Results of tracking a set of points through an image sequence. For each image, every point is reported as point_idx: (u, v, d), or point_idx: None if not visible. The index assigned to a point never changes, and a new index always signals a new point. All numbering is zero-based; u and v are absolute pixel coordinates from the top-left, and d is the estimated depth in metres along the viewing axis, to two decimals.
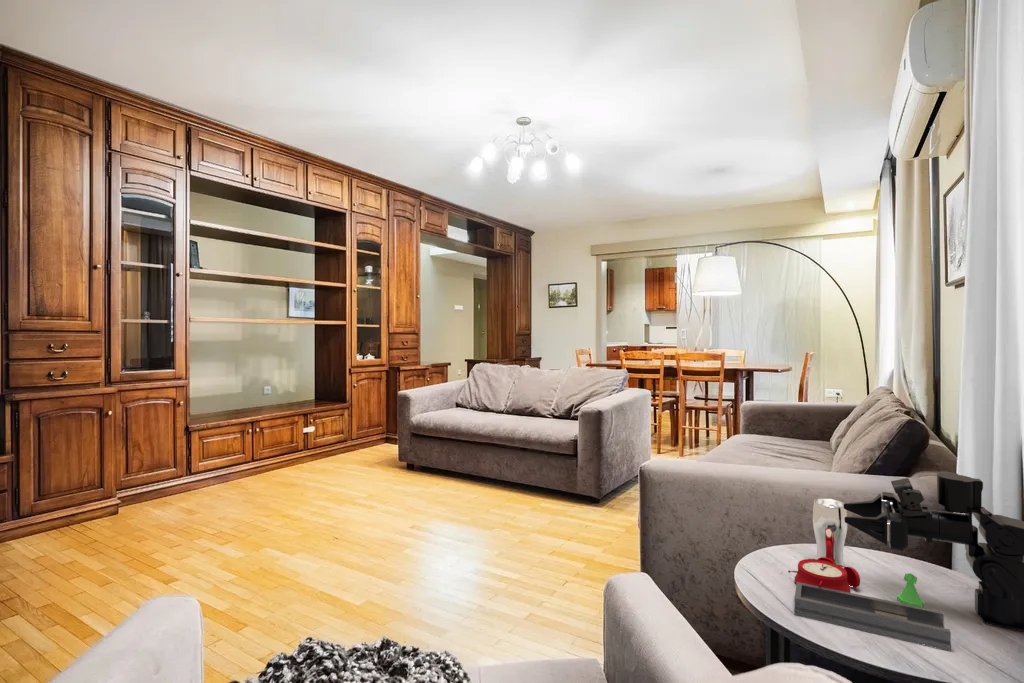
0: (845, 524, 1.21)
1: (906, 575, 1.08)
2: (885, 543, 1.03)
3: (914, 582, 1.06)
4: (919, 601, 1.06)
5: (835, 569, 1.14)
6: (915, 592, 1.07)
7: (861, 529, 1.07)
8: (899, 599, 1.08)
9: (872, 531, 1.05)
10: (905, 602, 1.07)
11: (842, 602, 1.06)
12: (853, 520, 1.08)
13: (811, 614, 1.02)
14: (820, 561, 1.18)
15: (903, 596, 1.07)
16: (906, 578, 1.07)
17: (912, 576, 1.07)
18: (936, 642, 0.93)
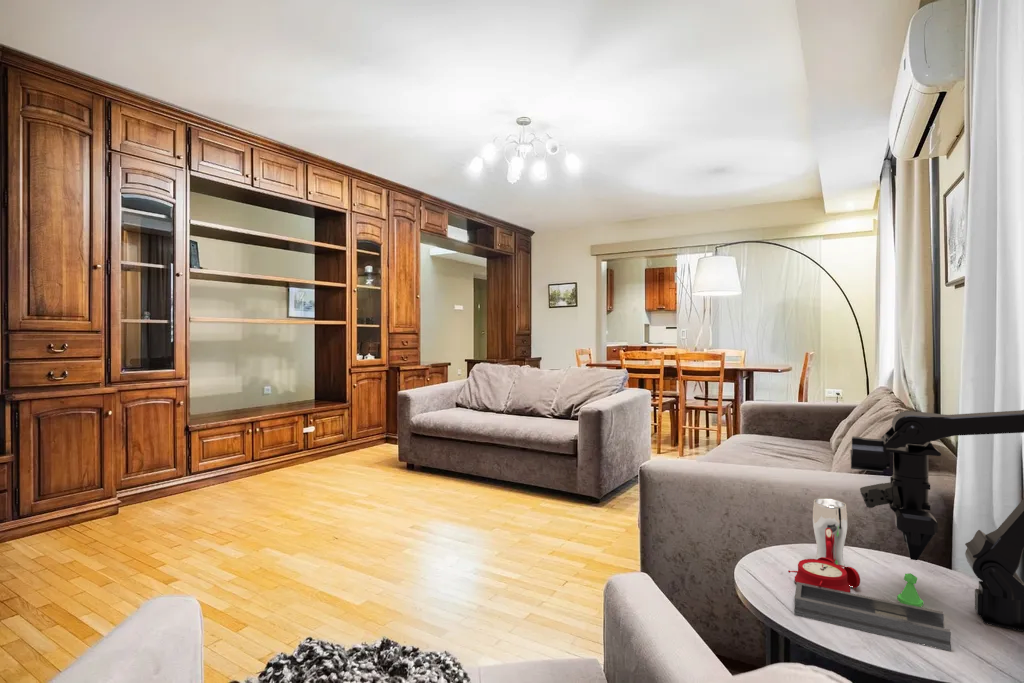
0: (845, 524, 1.21)
1: (906, 575, 1.08)
2: (932, 534, 0.99)
3: (914, 582, 1.06)
4: (919, 601, 1.06)
5: (835, 569, 1.14)
6: (915, 592, 1.07)
7: (922, 548, 1.02)
8: (899, 599, 1.08)
9: (922, 539, 1.01)
10: (905, 602, 1.07)
11: (842, 602, 1.06)
12: (913, 553, 1.03)
13: (811, 614, 1.02)
14: (820, 561, 1.18)
15: (903, 596, 1.07)
16: (906, 578, 1.07)
17: (912, 576, 1.07)
18: (936, 642, 0.93)
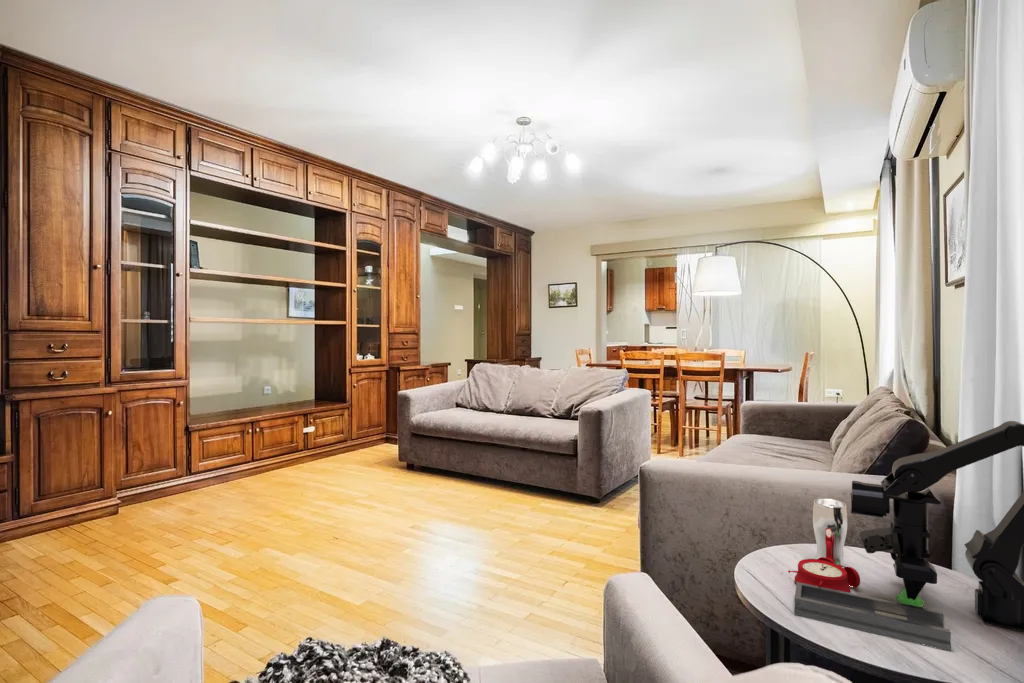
0: (845, 524, 1.21)
1: None
2: None
3: None
4: (919, 601, 1.06)
5: (835, 569, 1.14)
6: None
7: (919, 589, 1.05)
8: (899, 599, 1.08)
9: (919, 581, 1.05)
10: (905, 602, 1.07)
11: (842, 602, 1.06)
12: (910, 593, 1.06)
13: (811, 614, 1.02)
14: (820, 561, 1.18)
15: (903, 596, 1.07)
16: None
17: None
18: (936, 642, 0.93)
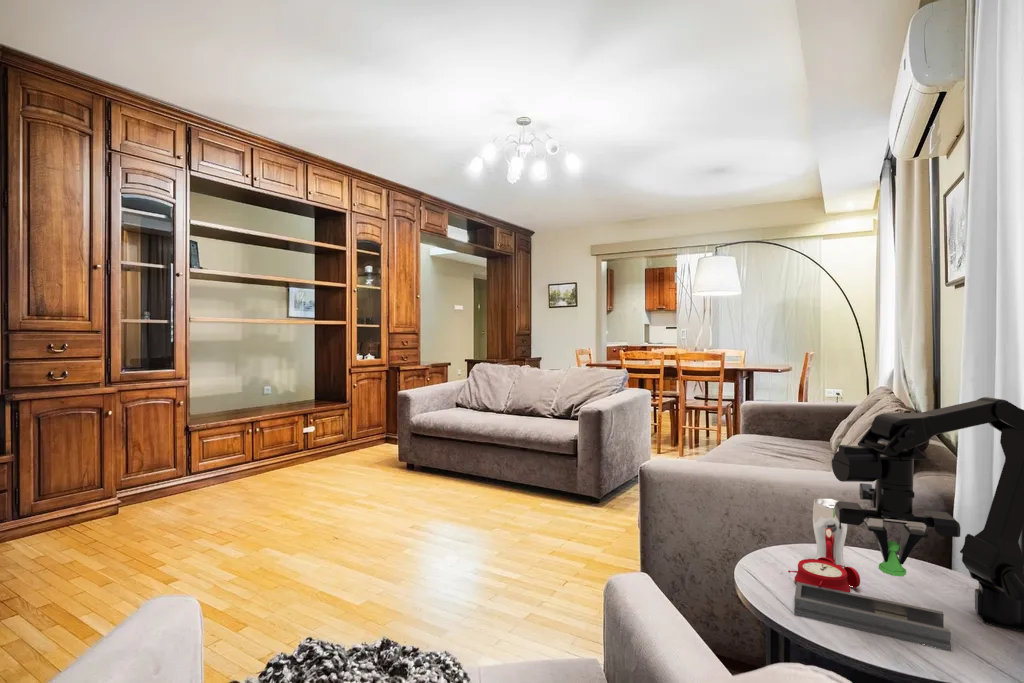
0: (845, 524, 1.21)
1: None
2: (868, 529, 1.00)
3: (888, 548, 1.01)
4: (888, 568, 1.00)
5: (835, 569, 1.14)
6: (889, 559, 1.01)
7: (881, 548, 1.01)
8: None
9: None
10: None
11: (842, 602, 1.06)
12: (881, 552, 1.02)
13: (811, 614, 1.02)
14: (820, 561, 1.18)
15: None
16: None
17: (890, 542, 1.01)
18: (936, 642, 0.93)
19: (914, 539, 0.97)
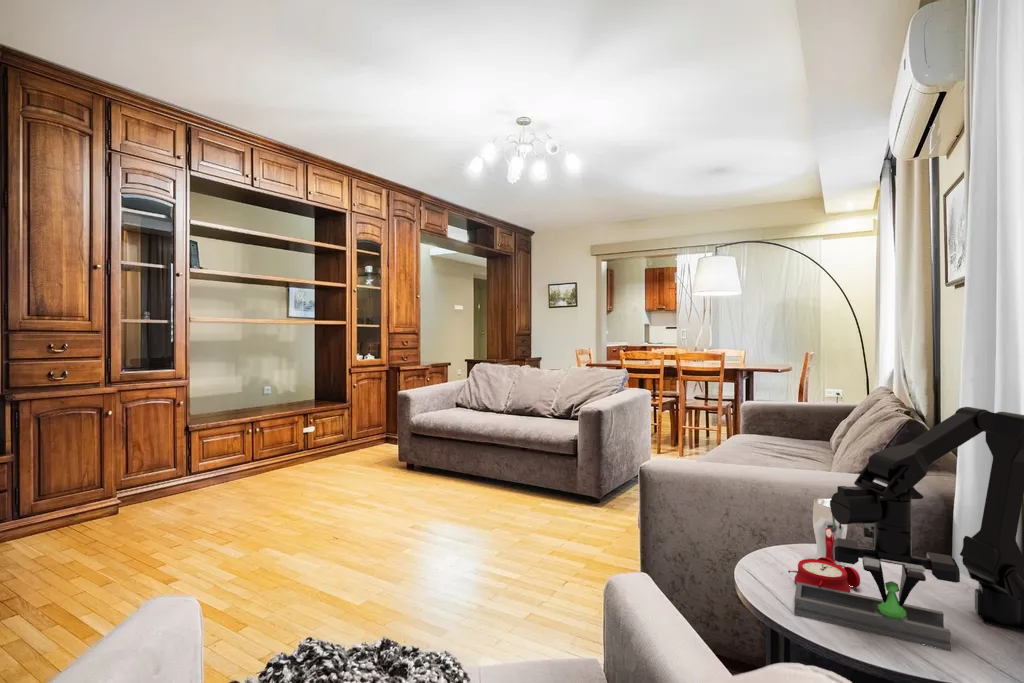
0: (845, 524, 1.21)
1: (890, 581, 1.00)
2: (864, 568, 0.99)
3: (886, 588, 0.99)
4: (886, 609, 0.99)
5: (835, 569, 1.14)
6: (887, 600, 0.99)
7: None
8: None
9: None
10: (881, 604, 1.01)
11: (842, 602, 1.06)
12: None
13: (811, 614, 1.02)
14: (820, 561, 1.18)
15: None
16: None
17: (888, 583, 0.99)
18: (936, 642, 0.93)
19: (911, 582, 0.96)
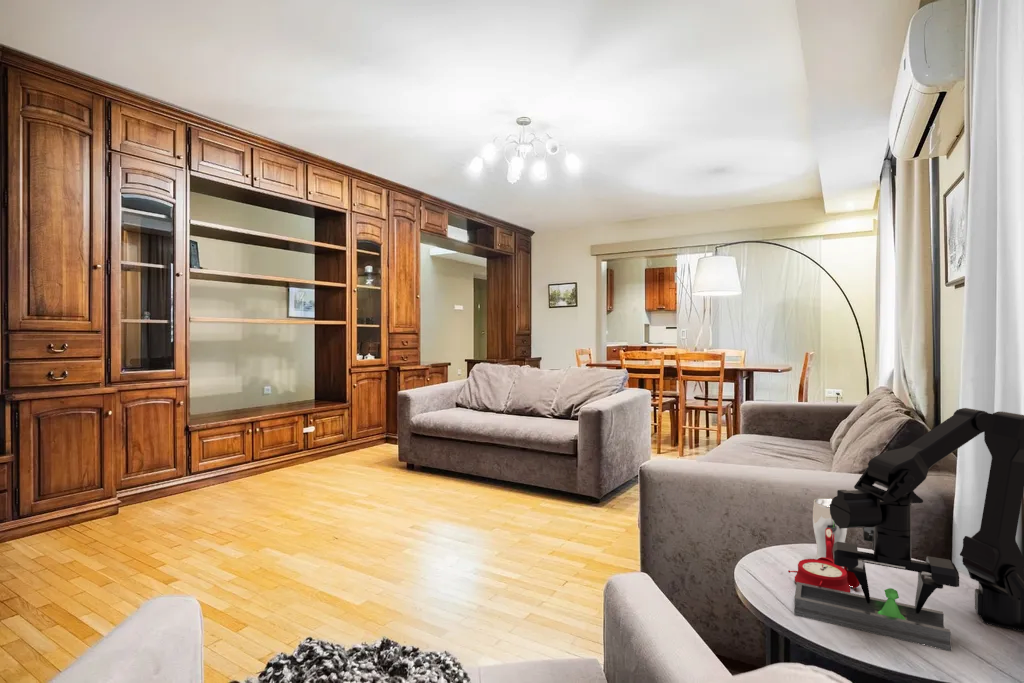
0: None
1: (890, 588, 1.00)
2: (847, 569, 1.01)
3: (886, 595, 0.99)
4: None
5: (835, 569, 1.14)
6: (887, 607, 0.99)
7: (862, 589, 1.01)
8: None
9: None
10: None
11: (842, 602, 1.06)
12: None
13: (811, 614, 1.02)
14: (820, 561, 1.18)
15: None
16: None
17: (888, 590, 0.99)
18: (936, 642, 0.93)
19: (928, 589, 0.94)
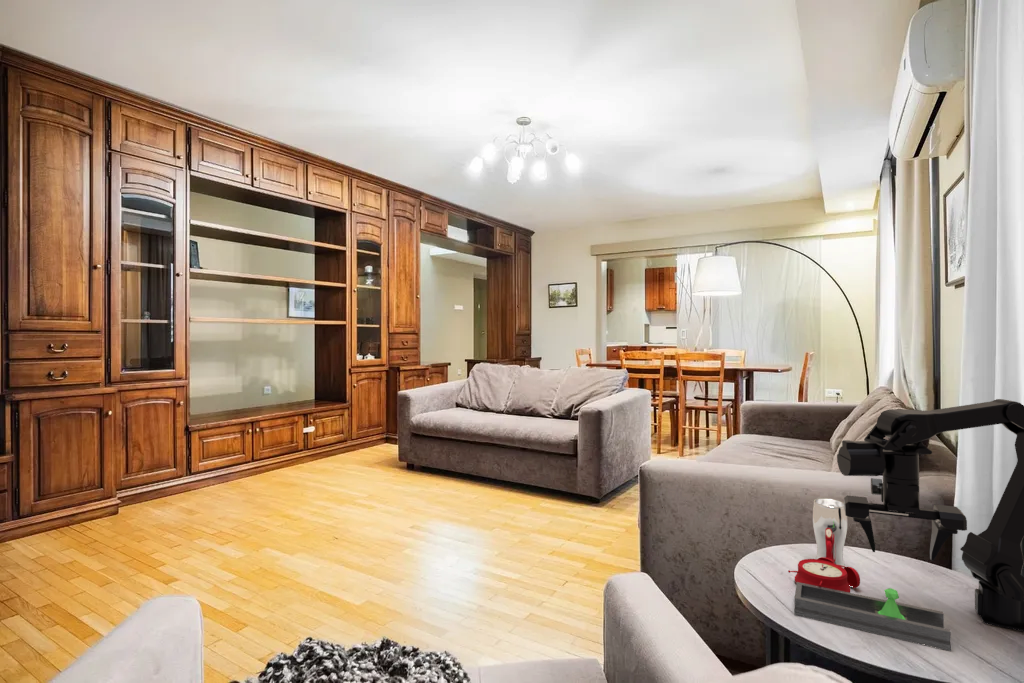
0: (845, 524, 1.21)
1: (890, 588, 1.00)
2: (853, 519, 1.04)
3: (886, 595, 0.99)
4: None
5: (835, 569, 1.14)
6: (887, 607, 0.99)
7: None
8: None
9: None
10: None
11: (842, 602, 1.06)
12: None
13: (811, 614, 1.02)
14: (820, 561, 1.18)
15: None
16: None
17: (888, 590, 0.99)
18: (936, 642, 0.93)
19: (943, 535, 0.97)
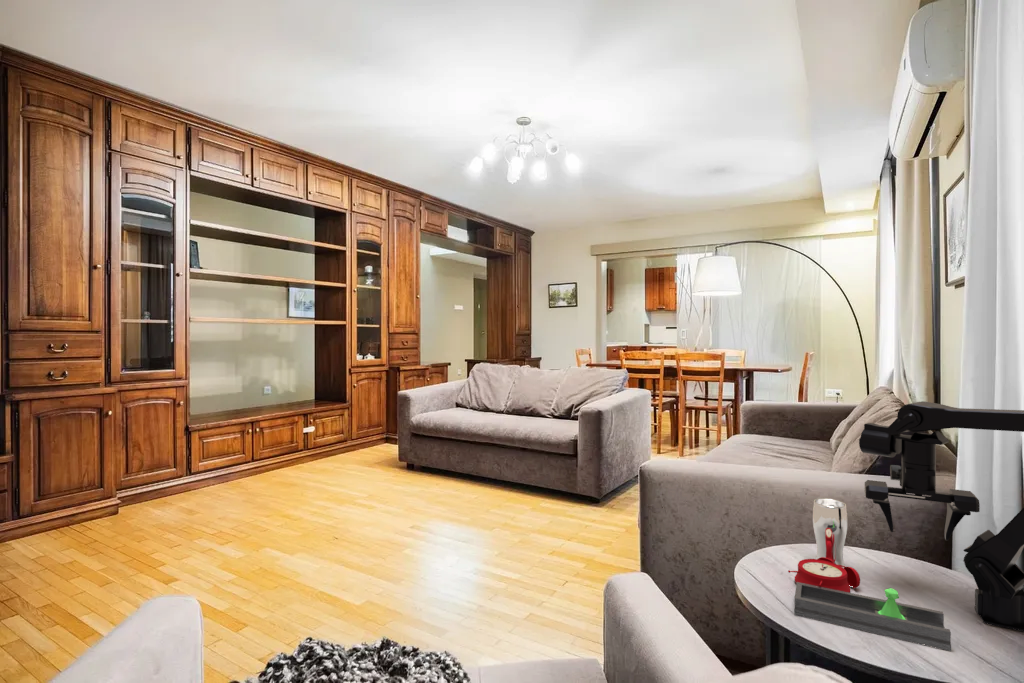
0: (845, 524, 1.21)
1: (890, 588, 1.00)
2: (873, 501, 1.13)
3: (886, 595, 0.99)
4: None
5: (835, 569, 1.14)
6: (887, 607, 0.99)
7: (886, 519, 1.13)
8: None
9: None
10: (880, 611, 1.01)
11: (842, 602, 1.06)
12: None
13: (811, 614, 1.02)
14: (820, 561, 1.18)
15: None
16: None
17: (888, 590, 0.99)
18: (936, 642, 0.93)
19: (957, 516, 1.06)
